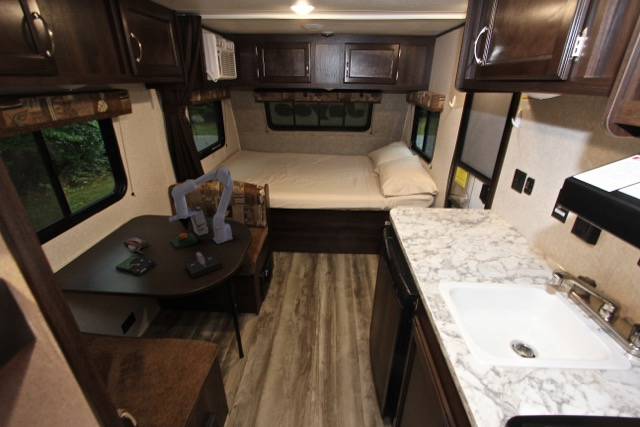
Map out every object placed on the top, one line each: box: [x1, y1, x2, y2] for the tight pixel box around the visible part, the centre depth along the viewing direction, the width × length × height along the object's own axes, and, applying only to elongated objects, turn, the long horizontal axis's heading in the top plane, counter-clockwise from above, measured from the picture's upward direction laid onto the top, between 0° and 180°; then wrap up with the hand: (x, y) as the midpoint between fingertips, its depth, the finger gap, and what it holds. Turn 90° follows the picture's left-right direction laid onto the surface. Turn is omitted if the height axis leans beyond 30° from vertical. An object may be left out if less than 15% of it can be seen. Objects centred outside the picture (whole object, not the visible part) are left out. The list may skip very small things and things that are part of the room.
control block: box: [170, 232, 199, 250], centre depth 170 cm, size 12×10×4 cm
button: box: [178, 232, 188, 239], centre depth 169 cm, size 4×4×2 cm
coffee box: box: [188, 204, 209, 237], centre depth 179 cm, size 9×6×16 cm
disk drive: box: [114, 255, 156, 277], centre depth 147 cm, size 10×3×15 cm
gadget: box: [184, 254, 222, 279], centre depth 148 cm, size 14×12×3 cm
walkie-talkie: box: [123, 236, 149, 255], centre depth 163 cm, size 9×4×20 cm
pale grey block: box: [195, 251, 205, 265], centre depth 147 cm, size 6×2×4 cm, turn 40°
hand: (186, 229), depth 166 cm, fingers closed
